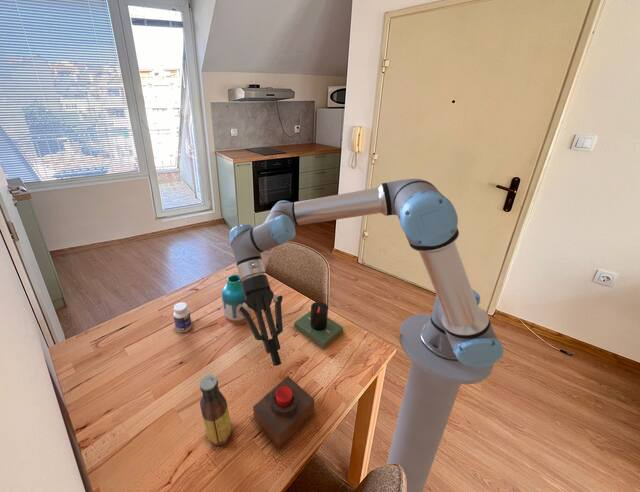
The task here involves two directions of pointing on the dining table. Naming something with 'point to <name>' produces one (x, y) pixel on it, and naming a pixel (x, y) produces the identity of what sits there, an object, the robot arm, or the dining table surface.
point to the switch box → (283, 413)
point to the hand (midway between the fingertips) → (277, 364)
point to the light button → (283, 396)
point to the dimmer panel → (318, 337)
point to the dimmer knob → (319, 316)
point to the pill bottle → (182, 317)
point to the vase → (233, 300)
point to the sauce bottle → (214, 411)
